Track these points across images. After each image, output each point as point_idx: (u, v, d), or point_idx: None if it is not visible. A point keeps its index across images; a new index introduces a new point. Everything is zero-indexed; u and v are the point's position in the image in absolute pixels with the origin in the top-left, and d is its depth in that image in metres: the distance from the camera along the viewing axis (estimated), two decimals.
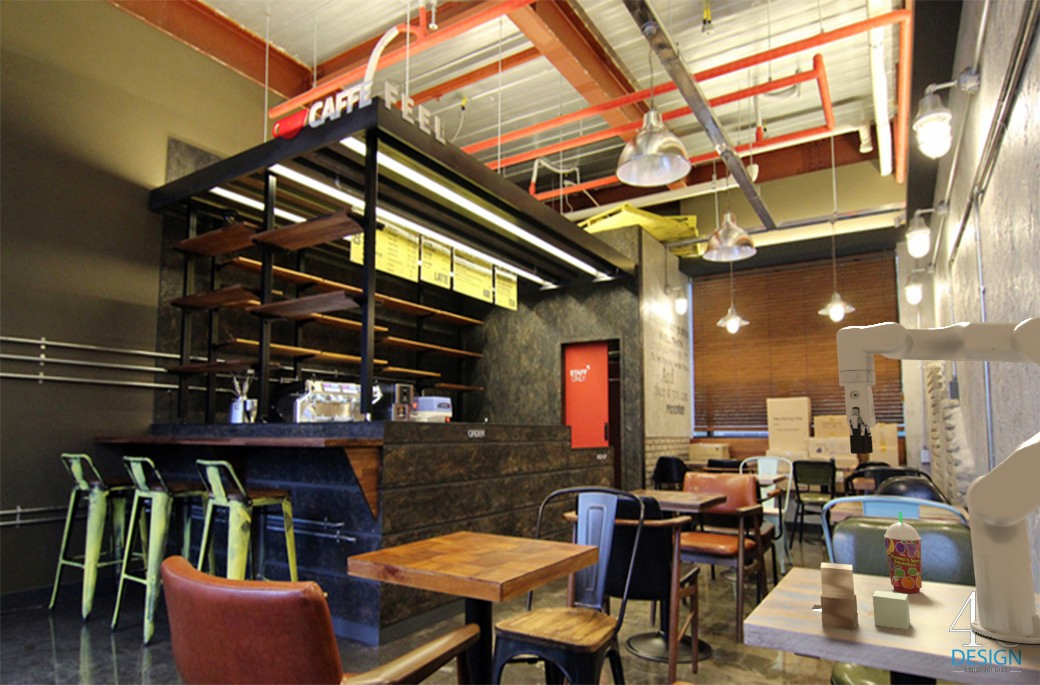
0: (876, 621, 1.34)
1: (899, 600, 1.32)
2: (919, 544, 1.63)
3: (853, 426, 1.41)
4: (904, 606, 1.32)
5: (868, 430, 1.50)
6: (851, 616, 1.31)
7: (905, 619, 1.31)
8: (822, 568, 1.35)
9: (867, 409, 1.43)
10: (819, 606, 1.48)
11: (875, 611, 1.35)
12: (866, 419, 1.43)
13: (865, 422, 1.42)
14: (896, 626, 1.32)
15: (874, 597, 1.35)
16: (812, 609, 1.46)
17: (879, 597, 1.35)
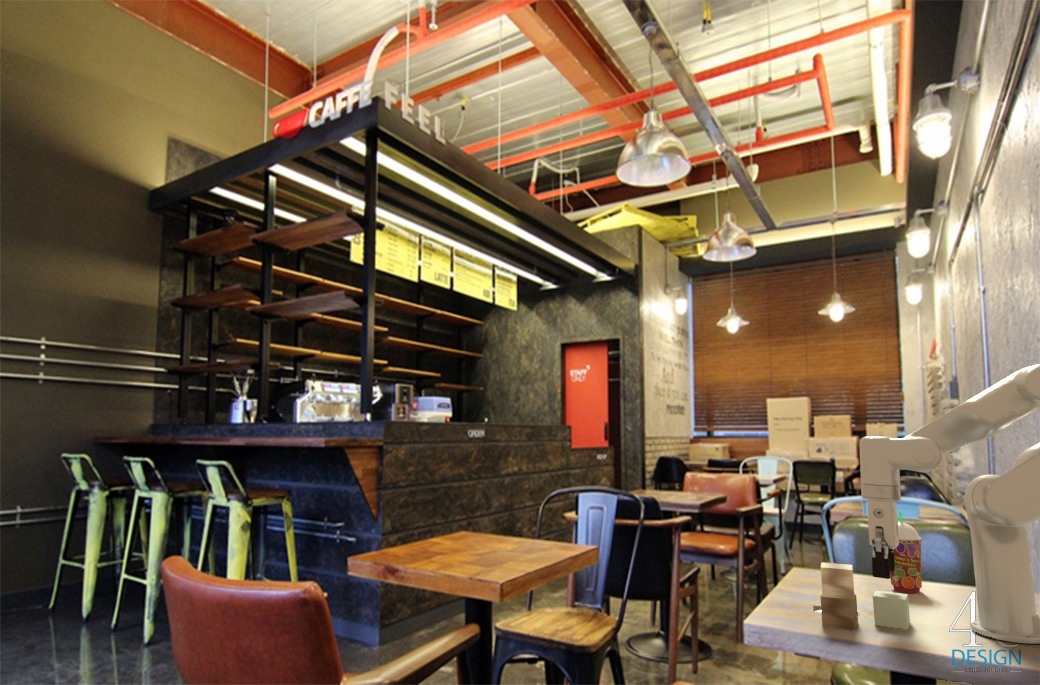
0: (876, 621, 1.34)
1: (899, 600, 1.32)
2: (919, 544, 1.63)
3: (876, 549, 1.32)
4: (904, 606, 1.32)
5: (890, 546, 1.40)
6: (851, 616, 1.31)
7: (905, 619, 1.31)
8: (822, 568, 1.35)
9: (892, 530, 1.33)
10: (818, 607, 1.48)
11: (875, 611, 1.35)
12: (890, 541, 1.33)
13: (889, 544, 1.33)
14: (896, 626, 1.32)
15: (874, 597, 1.35)
16: (813, 610, 1.45)
17: (879, 597, 1.35)
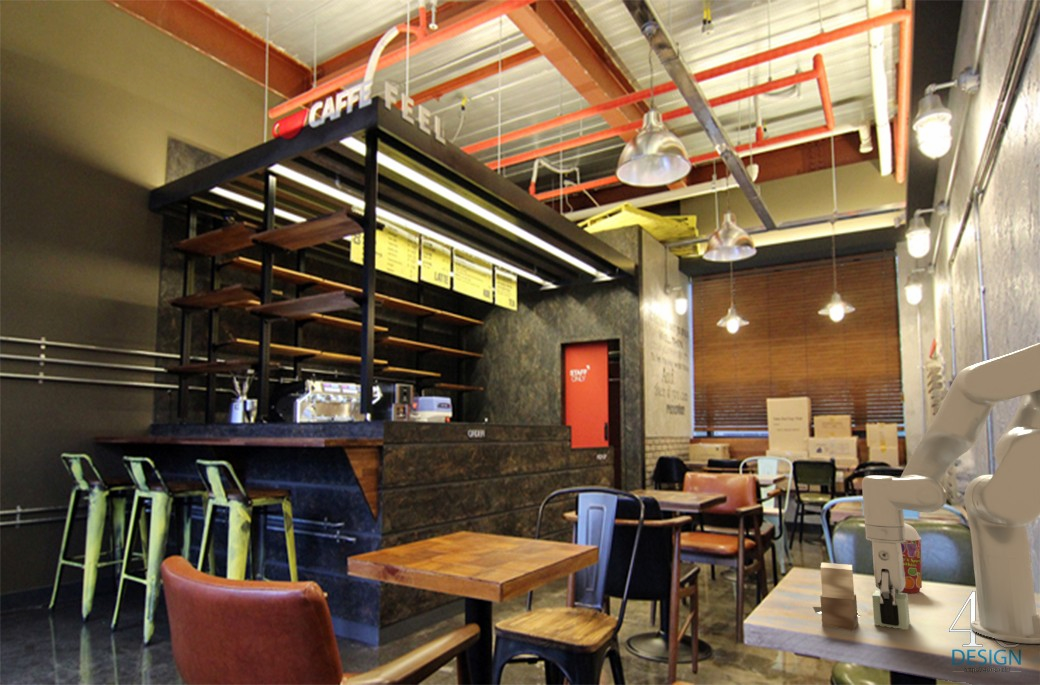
0: (875, 620, 1.34)
1: (899, 600, 1.33)
2: (919, 544, 1.63)
3: (884, 596, 1.31)
4: (904, 606, 1.32)
5: (897, 590, 1.38)
6: (851, 616, 1.31)
7: (905, 619, 1.32)
8: (822, 568, 1.35)
9: (898, 573, 1.32)
10: (818, 608, 1.47)
11: (875, 611, 1.35)
12: (896, 584, 1.32)
13: (896, 587, 1.31)
14: (896, 626, 1.32)
15: (874, 597, 1.35)
16: (816, 612, 1.44)
17: (879, 597, 1.35)
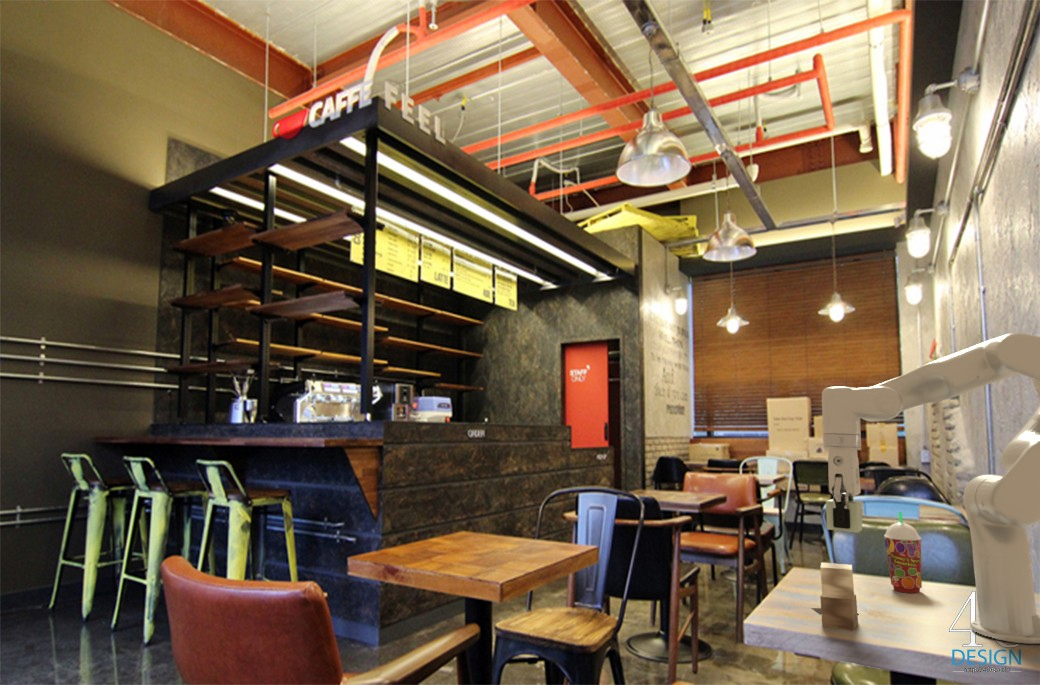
0: (828, 524, 1.37)
1: (851, 504, 1.35)
2: (919, 544, 1.63)
3: (836, 499, 1.34)
4: (855, 509, 1.35)
5: (851, 499, 1.40)
6: (851, 616, 1.31)
7: (856, 522, 1.34)
8: (822, 568, 1.35)
9: (850, 477, 1.34)
10: (820, 609, 1.46)
11: (827, 515, 1.38)
12: (849, 488, 1.34)
13: (848, 491, 1.34)
14: (847, 529, 1.35)
15: (827, 502, 1.38)
16: (820, 614, 1.43)
17: (832, 502, 1.37)
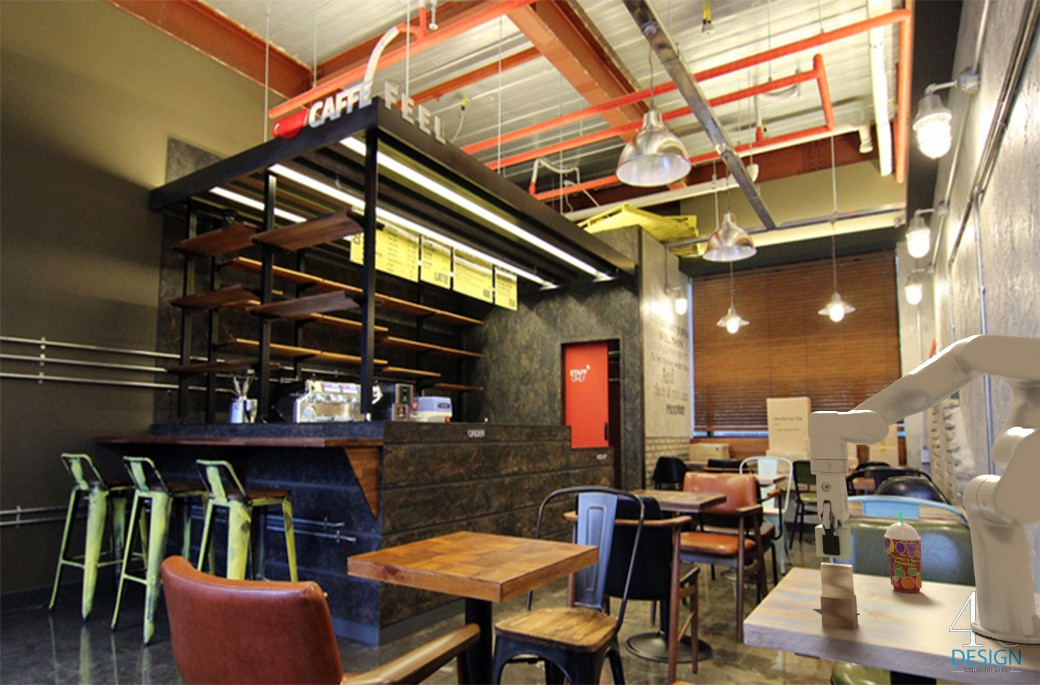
0: (817, 551, 1.36)
1: (840, 530, 1.34)
2: (919, 544, 1.63)
3: (825, 526, 1.33)
4: (844, 536, 1.33)
5: (840, 524, 1.39)
6: (851, 616, 1.31)
7: (845, 548, 1.33)
8: (822, 568, 1.35)
9: (839, 503, 1.33)
10: (820, 610, 1.45)
11: (817, 542, 1.36)
12: (838, 514, 1.33)
13: (837, 517, 1.33)
14: (836, 556, 1.34)
15: (816, 528, 1.37)
16: None
17: (821, 528, 1.36)
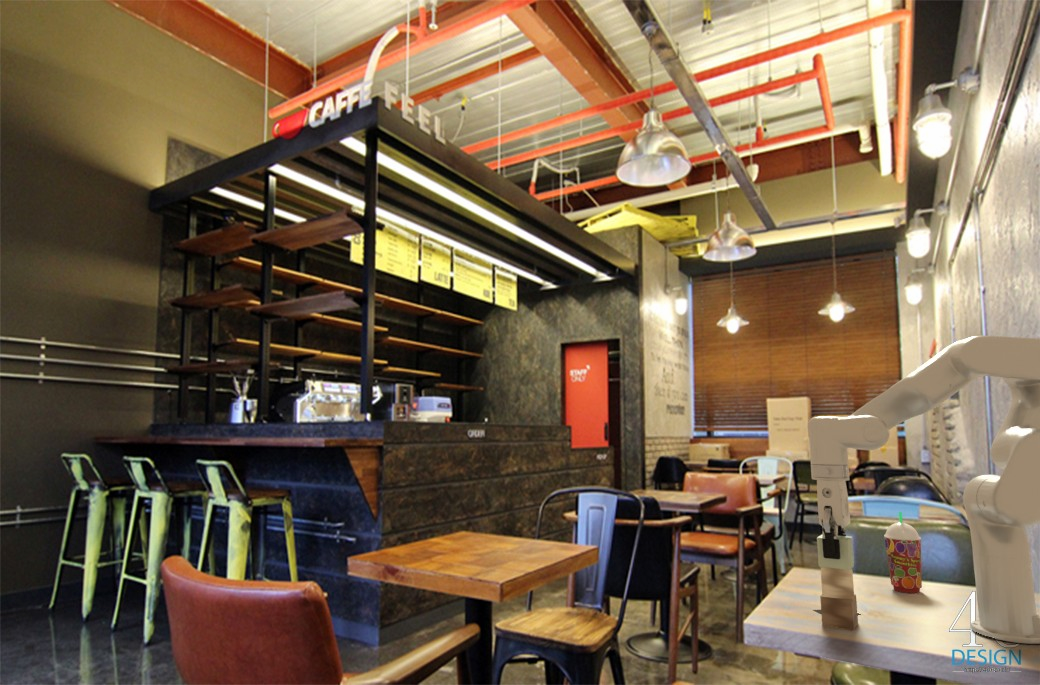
0: (819, 562, 1.36)
1: (842, 541, 1.34)
2: (919, 544, 1.63)
3: (825, 530, 1.32)
4: (846, 546, 1.33)
5: (842, 527, 1.40)
6: (851, 616, 1.31)
7: (847, 559, 1.33)
8: (822, 568, 1.35)
9: (840, 509, 1.33)
10: None
11: (819, 552, 1.36)
12: (839, 520, 1.33)
13: (838, 523, 1.33)
14: (839, 566, 1.34)
15: (818, 539, 1.36)
16: None
17: None
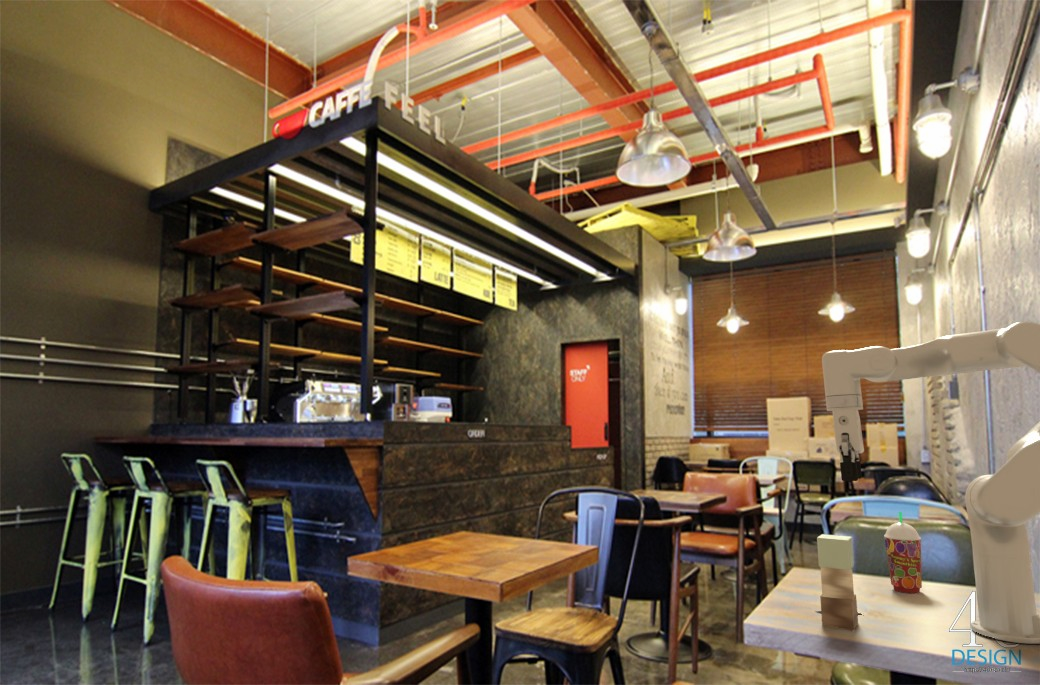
0: (819, 562, 1.36)
1: (842, 541, 1.34)
2: (919, 544, 1.63)
3: (844, 453, 1.38)
4: (847, 546, 1.33)
5: (856, 455, 1.47)
6: (851, 616, 1.31)
7: (847, 559, 1.33)
8: (822, 568, 1.35)
9: (856, 435, 1.40)
10: None
11: (819, 552, 1.36)
12: (856, 445, 1.40)
13: (855, 448, 1.40)
14: (839, 566, 1.34)
15: (818, 539, 1.36)
16: None
17: (823, 539, 1.36)
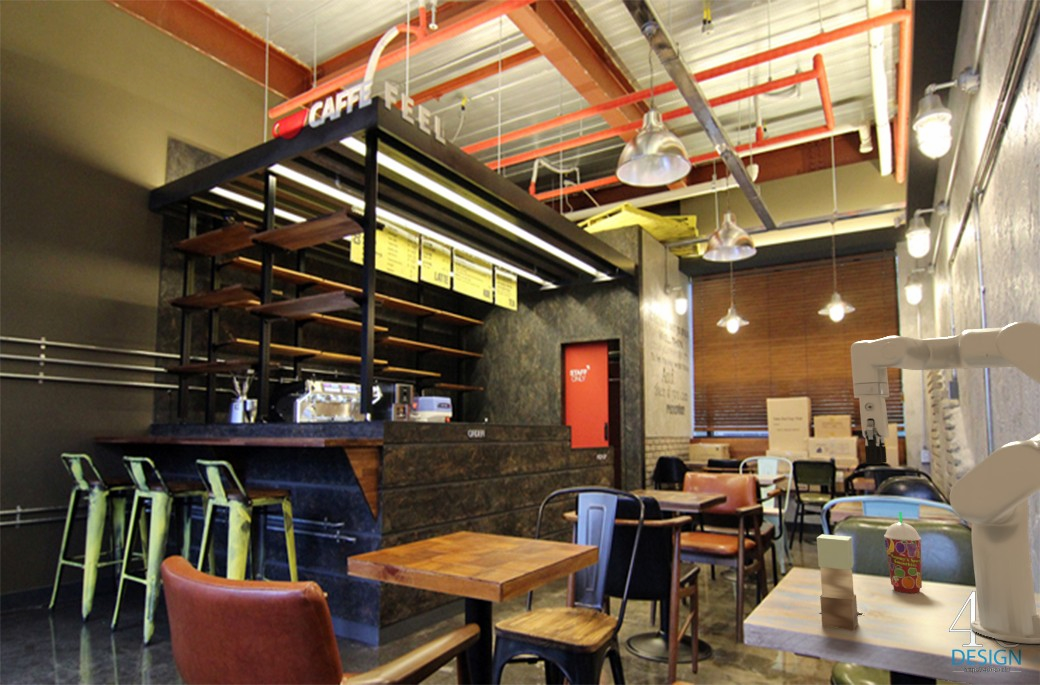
0: (819, 562, 1.36)
1: (842, 541, 1.34)
2: (919, 544, 1.63)
3: (868, 437, 1.47)
4: (846, 546, 1.33)
5: (882, 440, 1.55)
6: (851, 616, 1.31)
7: (847, 559, 1.33)
8: (822, 568, 1.35)
9: (882, 420, 1.48)
10: None
11: (819, 552, 1.36)
12: (881, 430, 1.48)
13: (880, 433, 1.48)
14: (839, 566, 1.34)
15: (818, 539, 1.36)
16: None
17: (823, 539, 1.36)
